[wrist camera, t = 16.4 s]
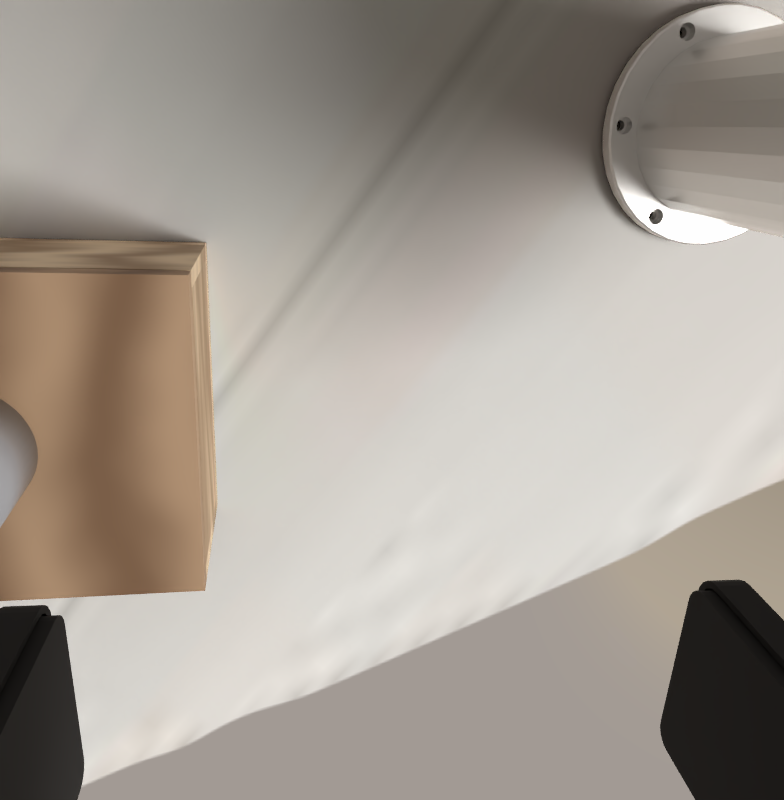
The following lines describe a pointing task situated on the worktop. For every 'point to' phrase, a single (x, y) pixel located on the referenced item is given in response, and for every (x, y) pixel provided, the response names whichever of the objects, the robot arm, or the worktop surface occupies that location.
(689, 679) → the robot arm
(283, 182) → the worktop surface
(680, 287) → the worktop surface
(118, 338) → the lid
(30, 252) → the storage box
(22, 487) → the grey knob post
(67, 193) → the worktop surface
